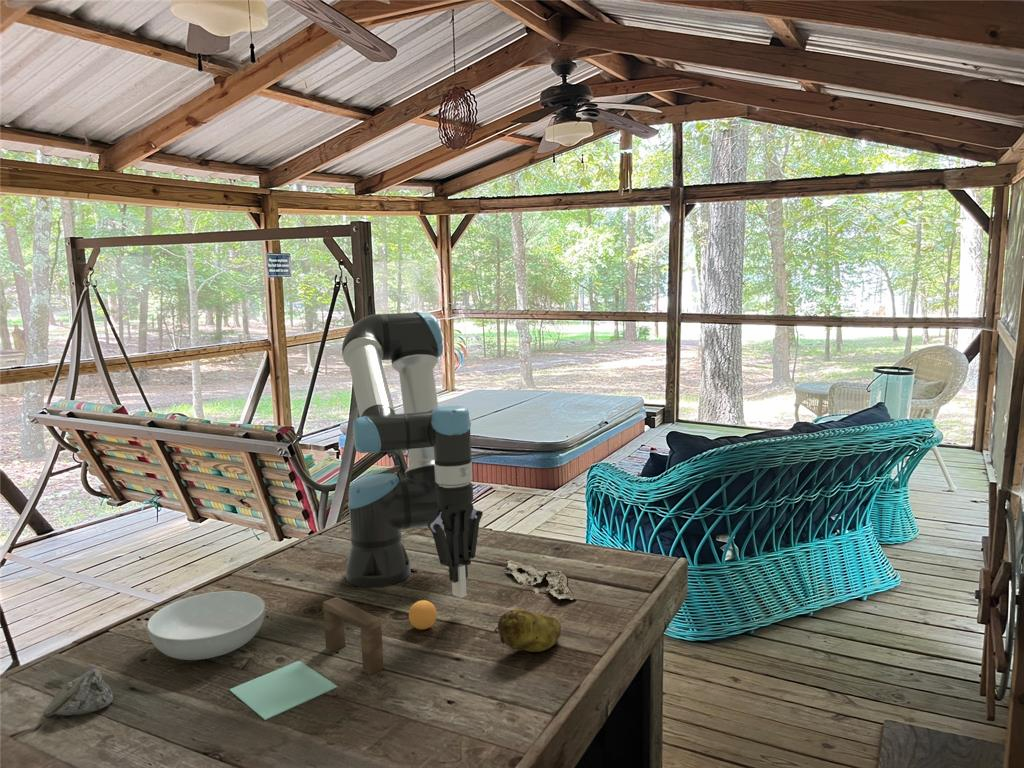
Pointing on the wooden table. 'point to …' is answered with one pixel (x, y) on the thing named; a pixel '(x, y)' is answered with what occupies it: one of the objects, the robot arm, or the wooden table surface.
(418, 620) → the ball
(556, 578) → the driftwood
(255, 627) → the serving bowl
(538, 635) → the potato
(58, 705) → the grey rock
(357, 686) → the wooden table surface
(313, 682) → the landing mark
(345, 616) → the bridge
